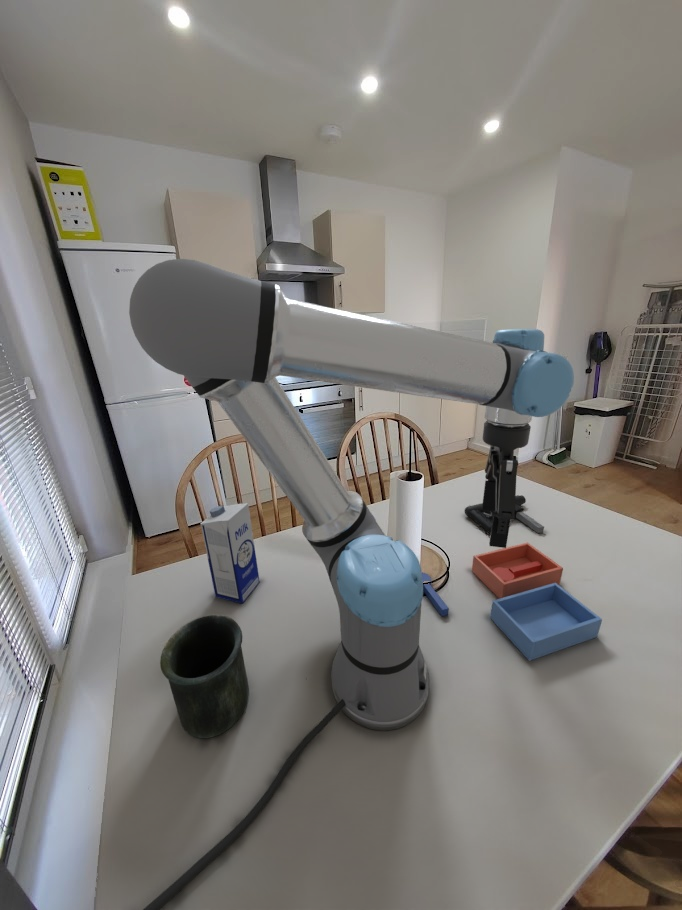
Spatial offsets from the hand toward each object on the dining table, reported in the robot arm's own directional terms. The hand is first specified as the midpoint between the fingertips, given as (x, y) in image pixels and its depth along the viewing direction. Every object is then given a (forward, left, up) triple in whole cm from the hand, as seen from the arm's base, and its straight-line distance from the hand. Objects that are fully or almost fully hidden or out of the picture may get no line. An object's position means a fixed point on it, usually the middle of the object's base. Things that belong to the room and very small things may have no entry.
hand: (492, 526), depth 70 cm
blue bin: (+3, -12, -15) cm, 19 cm away
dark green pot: (-54, -6, -15) cm, 57 cm away
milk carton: (-50, +17, -15) cm, 55 cm away
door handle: (+23, +20, -15) cm, 34 cm away
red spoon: (+8, 0, -14) cm, 16 cm away
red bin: (+8, 0, -15) cm, 17 cm away
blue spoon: (-12, +2, -15) cm, 19 cm away
